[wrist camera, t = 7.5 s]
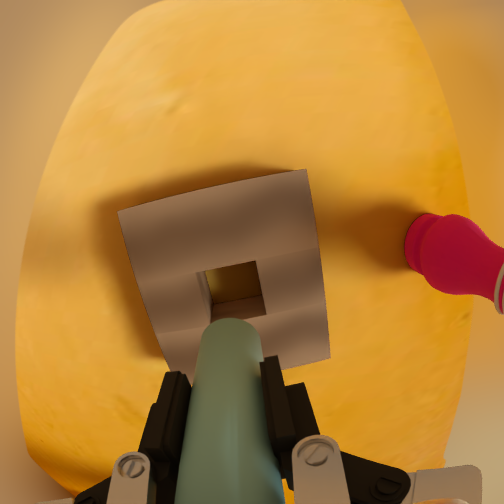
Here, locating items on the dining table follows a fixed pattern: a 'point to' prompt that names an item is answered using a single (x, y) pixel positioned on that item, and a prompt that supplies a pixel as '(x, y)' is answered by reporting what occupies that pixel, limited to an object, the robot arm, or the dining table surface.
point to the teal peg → (228, 423)
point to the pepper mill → (456, 257)
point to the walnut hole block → (230, 253)
